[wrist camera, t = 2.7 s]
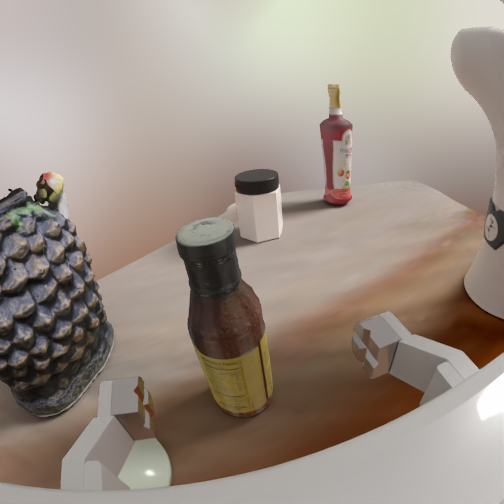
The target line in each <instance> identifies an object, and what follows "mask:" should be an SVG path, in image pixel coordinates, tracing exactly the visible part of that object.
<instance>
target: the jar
mask: <svg viewBox="0 0 504 504" xmlns="http://www.w3.org/2000/svg"><path fill="white" fill-rule="evenodd" d="M235 187H236V192H235V199H236V207H237V215H238V222H239V229H240V236H241V237H242V238H245V239H248V240H251V241H254V242H257V243H259V242H263V241H267V240H271V239H276V238H279V237H280V235H281V231H282V228H283V221H282V206H281V193H280V184H279V180H278V173H277V172H276V171H273V170H267V169H257V170H249V171H245V172H242V173H239V174H238V175H236V176H235Z"/></svg>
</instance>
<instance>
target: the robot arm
mask: <svg viewBox="0 0 504 504" xmlns="http://www.w3.org/2000/svg"><path fill="white" fill-rule="evenodd" d="M501 1H502V2H503V3H504V0H501ZM451 61H452V66H453V70H454V72H455V74H456V77H457V79H458V80H459V82H460V83H461V85H462V86H463V87H464V88H465V90H466V91H467V92H469V94H470V95H472V96H473V97H474V99H475V100H476V101H477V102H478V103H479V105H480V106H481V107H482V109H483V110H484V112H485V114H486V116H487V118H488V120H489V122H490V124H491V127H492V130H493V133H494V137H495V143H496V154H497V155H496V177H495V186H494V194H493V197H492V198H490V202H489V206H488V211H487V216H486V220H485V228H484V236H483V240H482V243H481V245H480V248H479V251H478V253H477V255H476V257H475V260H474V262H473V263H472V265H471V267H470V269H469V270H468V272H467V273H466V275H465V277H464V286H465V289H466V291H467V293H468V295H469V296H470V297H471V299H472V300H473V301H474V302H475V303H476V304H477V305H478V306H480V307H481V308H482V309H484V310H485V311H487V312H489V313H490V314H492V315H495V316H497V317H499V318H502V319H504V29H499V28H493V27H479V28H478V27H477V28H468V29H462V30H460V31H459V32H458V34H457V35H456V37H455V39H454V41H453V43H452V47H451ZM354 331H355V333H356V334H355V336H354V337H353V338H352V349H353V352H354V355H355V356H356V358H357V359H358V360H359V361H361V362H364V366H363V368H364V370H365V371H366V373H367V374H368V376H369V377H370V378H371V379H374V378H376V377H379V376H381V375H384V374H386V373H389V374H391V375H393V376H395V377H397V378H398V379H400V380H402V381H404V382H406V383H408V384H409V385H411V386H413V387H415V388H417V389H419V390H421V391H422V392H424V395H423V397H422V399H421V401H420V404H419V405H420V407H418V408H416V409H414V410H413V411H411V412H409V413H407V414H405V415H403V416H401V417H399V418H397V419H395V420H393V421H391V422H389V423H387V424H385V425H382V426H380V427H378V428H376V429H374V430H372V431H369V432H367V433H365V434H362V435H360V436H358V437H355V438H353V439H350V440H348V441H346V442H343V443H340V444H338V445H335V446H333V447H330V448H327V449H325V450H322V451H319V452H316V453H313V454H310V455H307V456H304V457H301V458H298V459H295V460H292V461H288V462H285V463H282V464H278V465H275V466H271V467H268V468H264V469H260V470H256V471H252V472H248V473H244V474H239V475H235V476H230V477H225V478H220V479H215V480H210V481H204V482H198V483H191V484H184V485H177V486H169V487H160V488H149V489H135V490H130V487H129V486H127V485H126V484H125V483H124V482H122V481H121V480H120V479H119V478H118V475H119V473H120V471H121V469H122V467H123V465H124V463H125V461H126V459H127V457H128V455H129V453H130V451H131V449H132V447H133V445H134V443H135V441H137V440H144V439H150V438H156V430H155V422H154V421H153V419H152V416H153V414H154V406H153V402H152V398H151V395H150V393H149V391H148V390H147V389H145V388H144V382H143V380H142V378H141V377H131V378H123V379H115V380H107V381H102V382H101V384H100V388H99V398H98V411H97V417H94V418H93V419H92V420H91V422H90V423H89V424H88V426H87V427H86V428H85V430H84V431H83V432H82V434H81V435H80V436H79V438H78V439H77V440H76V442H75V443H74V445H73V446H72V447H71V449H70V450H69V451H68V453H67V454H66V455H65V457H64V458H63V460H62V470H61V489H49V488H38V487H30V486H22V485H15V484H9V483H3V482H0V504H504V352H503V353H502V354H501V355H499V356H498V357H497V358H495V359H494V360H493V361H491V362H490V363H489V364H487V365H486V366H484V367H483V368H481V369H480V370H479V369H478V368H477V366H476V365H475V364H474V363H473V362H472V361H471V360H470V359H469V358H468V357H467V356H466V354H465V353H464V352H463V351H461V350H458V349H455V348H452V347H450V346H447V345H444V344H441V343H438V342H436V341H433V340H430V339H427V338H424V337H422V336H419V335H416V334H414V335H412V334H411V333H410V332H409V331H408V330H407V329H406V328H405V327H404V326H403V324H402V323H401V322H400V321H399V320H398V319H397V318H396V317H395V316H394V315H393V314H392V313H391V312H389V311H387V312H385V313H382V314H379V315H376V316H373V317H370V318H367V319H365V320H362V321H359V322H356V324H355V325H354Z"/></svg>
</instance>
